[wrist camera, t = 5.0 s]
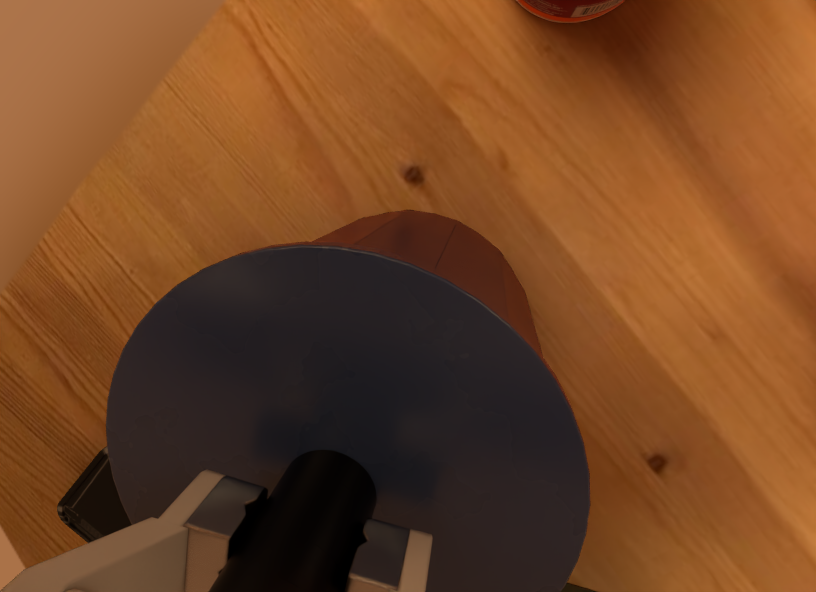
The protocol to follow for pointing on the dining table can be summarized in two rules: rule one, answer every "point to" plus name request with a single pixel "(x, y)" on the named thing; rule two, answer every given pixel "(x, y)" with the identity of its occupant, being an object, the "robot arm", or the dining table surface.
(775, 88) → the dining table surface
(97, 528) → the phone
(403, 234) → the pot
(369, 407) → the lid
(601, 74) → the dining table surface
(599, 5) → the pill bottle
